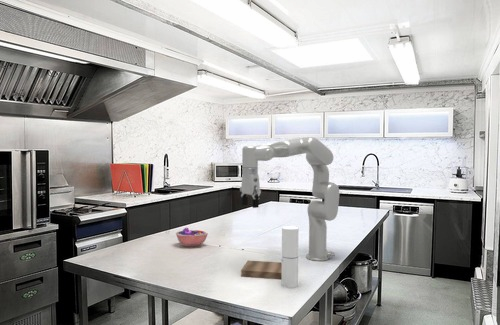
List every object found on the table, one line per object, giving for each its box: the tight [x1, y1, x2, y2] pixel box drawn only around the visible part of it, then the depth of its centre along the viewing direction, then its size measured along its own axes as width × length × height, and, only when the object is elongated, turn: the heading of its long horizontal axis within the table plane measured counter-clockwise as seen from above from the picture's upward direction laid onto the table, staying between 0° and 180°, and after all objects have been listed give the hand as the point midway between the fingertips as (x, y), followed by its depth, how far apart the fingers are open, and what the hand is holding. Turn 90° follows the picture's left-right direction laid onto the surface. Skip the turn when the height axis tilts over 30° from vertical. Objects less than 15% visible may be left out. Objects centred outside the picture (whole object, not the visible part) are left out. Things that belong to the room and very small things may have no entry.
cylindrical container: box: [280, 225, 299, 289], centre depth 155 cm, size 7×7×25 cm
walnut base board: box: [240, 260, 282, 280], centre depth 171 cm, size 22×16×3 cm
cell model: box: [175, 227, 209, 247], centre depth 221 cm, size 17×20×11 cm
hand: (249, 206), depth 173 cm, fingers open, 9 cm apart
